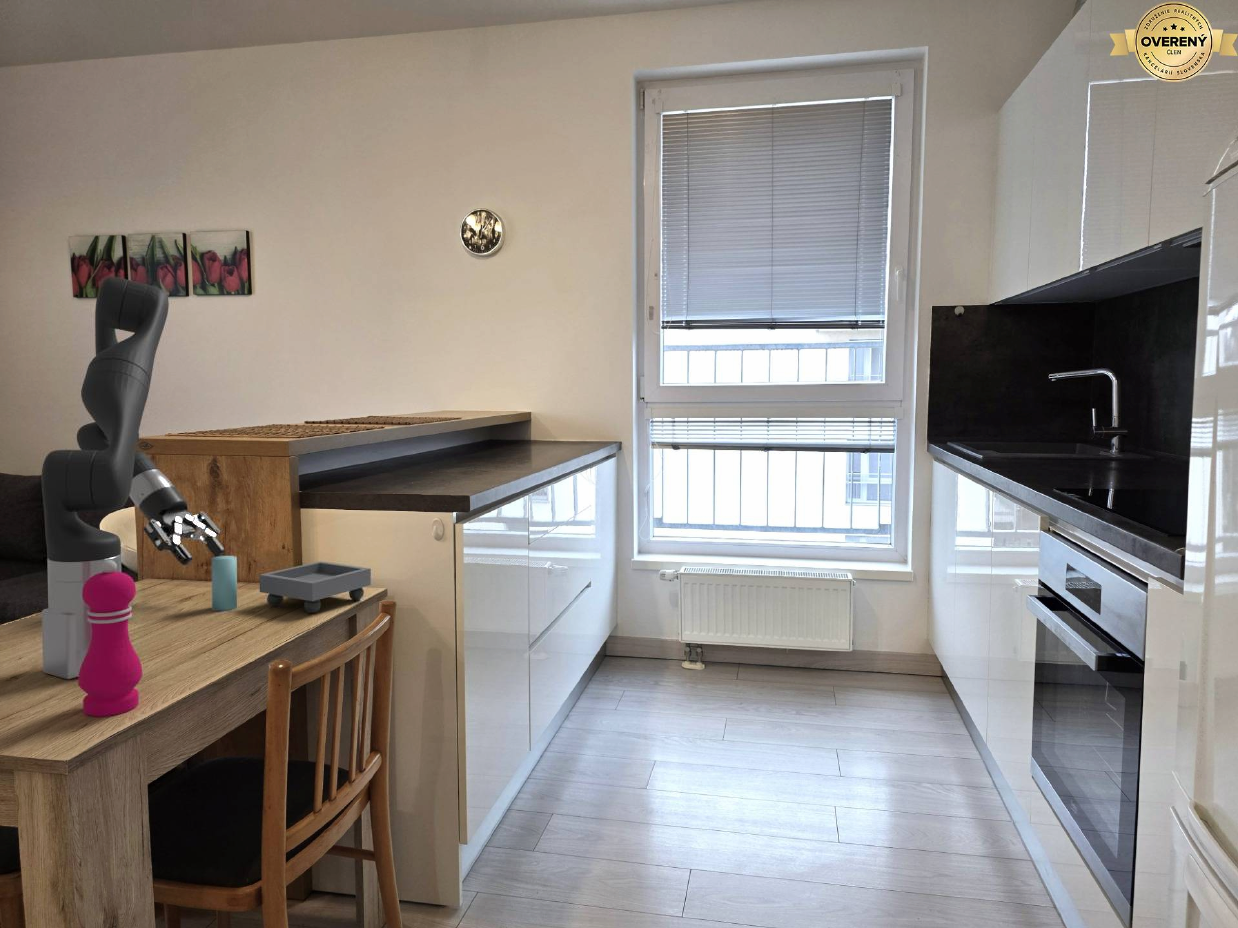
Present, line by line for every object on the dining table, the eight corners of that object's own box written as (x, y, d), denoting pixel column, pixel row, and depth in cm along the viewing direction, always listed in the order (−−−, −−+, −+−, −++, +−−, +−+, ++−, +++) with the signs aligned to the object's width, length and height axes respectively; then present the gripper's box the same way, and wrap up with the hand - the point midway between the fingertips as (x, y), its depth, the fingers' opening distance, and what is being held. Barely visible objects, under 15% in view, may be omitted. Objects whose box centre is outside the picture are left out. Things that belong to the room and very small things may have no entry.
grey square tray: (312, 616, 153) (312, 583, 152) (259, 606, 158) (259, 574, 158) (370, 599, 167) (370, 568, 167) (320, 590, 173) (320, 561, 172)
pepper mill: (67, 711, 105) (63, 561, 103) (122, 694, 111) (120, 553, 110) (98, 722, 101) (96, 568, 100) (154, 704, 108) (152, 559, 106)
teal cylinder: (222, 612, 154) (222, 561, 153) (207, 608, 156) (206, 558, 155) (242, 607, 158) (241, 557, 157) (226, 604, 160) (226, 554, 159)
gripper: (137, 488, 151) (188, 552, 149) (194, 481, 165) (242, 540, 163) (115, 514, 153) (165, 578, 151) (173, 505, 167) (220, 563, 165)
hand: (205, 558), depth 157 cm, fingers open, 8 cm apart
